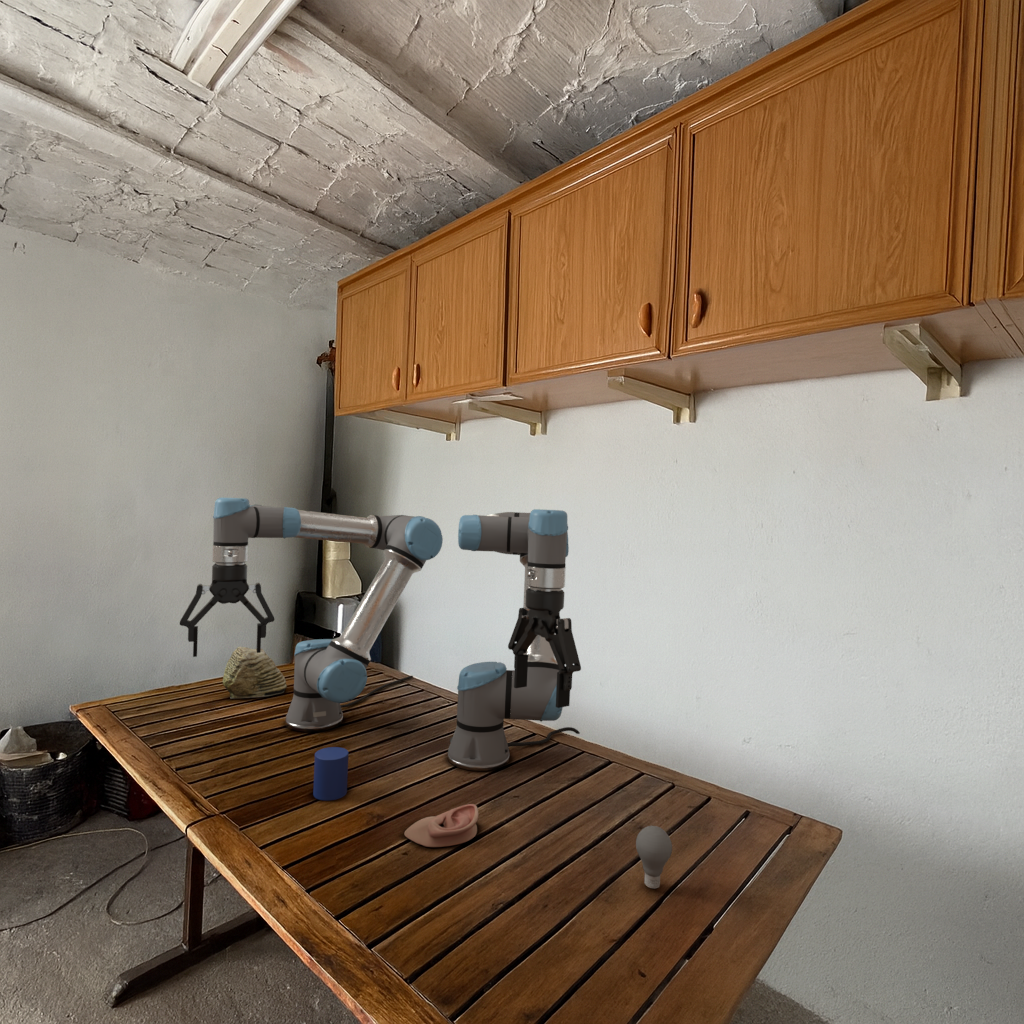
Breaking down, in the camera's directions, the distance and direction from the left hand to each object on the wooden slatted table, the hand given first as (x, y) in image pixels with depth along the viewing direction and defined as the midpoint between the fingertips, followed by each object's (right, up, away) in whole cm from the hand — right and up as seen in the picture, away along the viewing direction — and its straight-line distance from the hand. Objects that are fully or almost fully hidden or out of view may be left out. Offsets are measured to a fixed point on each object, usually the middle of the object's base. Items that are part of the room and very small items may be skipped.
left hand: (227, 653), depth 149 cm
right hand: (+73, -3, -25) cm, 77 cm away
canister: (+28, -27, -13) cm, 41 cm away
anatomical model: (+54, -28, -27) cm, 66 cm away
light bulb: (+91, -30, -42) cm, 104 cm away
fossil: (-14, -24, +49) cm, 56 cm away
